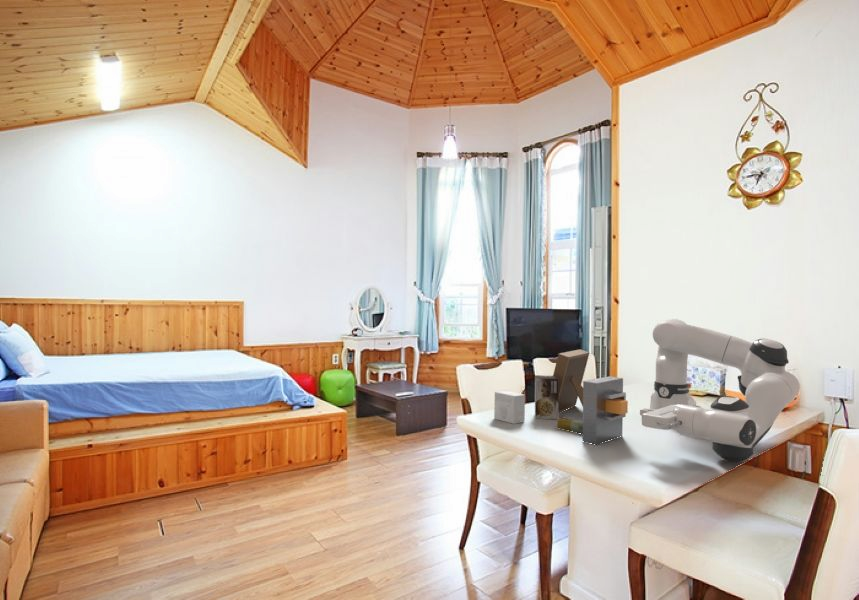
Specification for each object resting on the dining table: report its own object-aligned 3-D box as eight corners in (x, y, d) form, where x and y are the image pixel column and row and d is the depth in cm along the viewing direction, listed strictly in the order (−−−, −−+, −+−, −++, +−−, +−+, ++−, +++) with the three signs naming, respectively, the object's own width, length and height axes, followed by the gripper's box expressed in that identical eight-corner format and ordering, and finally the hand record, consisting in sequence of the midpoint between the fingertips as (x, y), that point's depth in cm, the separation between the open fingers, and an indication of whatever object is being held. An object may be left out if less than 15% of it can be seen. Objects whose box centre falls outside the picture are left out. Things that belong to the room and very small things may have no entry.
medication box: (590, 434, 168) (590, 423, 168) (586, 436, 166) (586, 424, 166) (560, 427, 177) (561, 416, 177) (556, 428, 176) (556, 417, 176)
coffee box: (557, 415, 194) (557, 375, 193) (558, 419, 187) (559, 378, 187) (534, 414, 195) (534, 374, 195) (534, 418, 189) (535, 377, 189)
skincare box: (525, 421, 184) (525, 394, 184) (514, 424, 180) (514, 396, 180) (504, 416, 192) (505, 389, 192) (493, 418, 188) (493, 391, 188)
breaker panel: (608, 433, 169) (609, 376, 169) (630, 438, 163) (631, 379, 163) (582, 441, 159) (583, 381, 159) (604, 447, 153) (605, 384, 153)
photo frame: (543, 413, 197) (545, 352, 196) (566, 404, 214) (567, 348, 213) (579, 420, 187) (581, 355, 187) (599, 410, 204) (601, 351, 204)
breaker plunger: (601, 407, 165) (601, 395, 165) (627, 412, 158) (627, 400, 158) (594, 409, 162) (594, 397, 162) (621, 414, 155) (621, 402, 155)
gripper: (671, 438, 134) (624, 427, 145) (702, 426, 147) (657, 416, 158) (671, 415, 134) (624, 406, 145) (703, 405, 147) (657, 397, 158)
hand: (642, 411), depth 151 cm, fingers closed
